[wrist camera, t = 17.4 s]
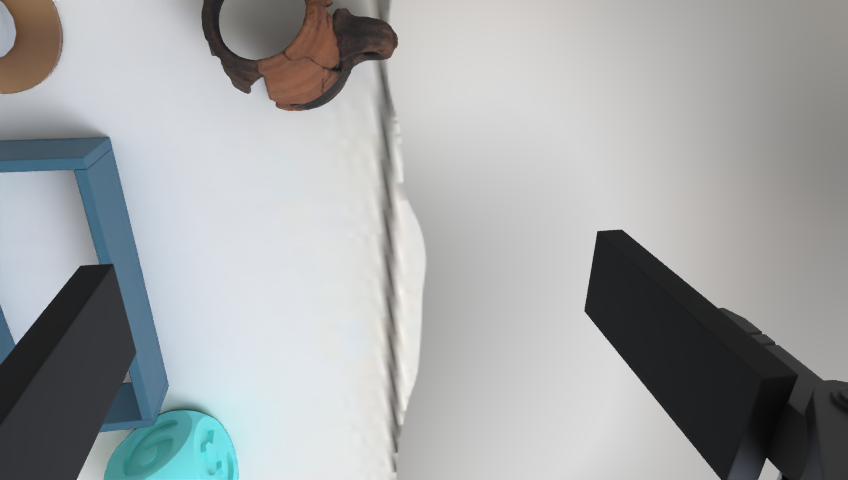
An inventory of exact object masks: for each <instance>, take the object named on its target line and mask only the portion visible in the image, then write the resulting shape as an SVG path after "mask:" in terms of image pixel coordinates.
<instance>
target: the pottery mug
mask: <svg viewBox="0 0 848 480" xmlns="http://www.w3.org/2000/svg"><path fill="white" fill-rule="evenodd" d="M223 1H224V0H204V3H203V8H202V28H203V31H204V35H205V38H206V40H207V41H208V43H209V47H210V50H211V54H212V55H213V56H217V57H219V58H220V60H221V64H222V66H223V69H224V71H225V73H226V74H227V75H228V76H229V78H230V79H231V81H232V84H233V85H234V87H236V88H237V89H239V90H241V91H242V92H244V93H247V94H249V93H250V92H251V88H250V86H251V85H253V83H254V82H255V81H256V80H258V79H260V78H261V77H264V79H265V85H266V87H267V92H268V96H269V98H270V100H273V101H275V102H276V107H278V108H280V109H283V110H288V111H302V110H309V109H313V108H317V107H320V106H322V105H324V104H326V103H328V102H329V101H330V100H332V99H333V98H334V97H335V96H336V95H337V94H338V93H339V92H340V91H341V90H342V88H343V87H344V85H345V82H346V81H347V78H348V76H349V75H350V73H351V70H352V68H353V67H354V66H356V65H357V64H359V63H361V62H363V61H366V60H384V59H388V58H390V57H391V56H392V54H393V51H394V49H395V48H396V47H397V45H398V38H397V35H396V33H395V32H394V31H393V29H392V28H391V26H390V25H389V24H388V23H386V22H384V21H382V20H379V19H374V18H370V17H358V16H354V15H352V14H351V13H350V12H349V11H348V10H347V9H346V8H342V9H340V8H339V9H337V10H335V12H334V14H333V19H331V16H330V14H329V13H328V12H327V10H326V7H328V6H330V5H331V4H332V0H305V3H306V13H305V18H304V22H303V25H302V28H301V30H300V32H299V33H298V35H297V37H296V38H295V39H294V41H293V42H292V43H291V44H290V45H289V46H288V47H287V48H286V49H285V50H284V51H283V52H280V53H279V54H277V55H275V56H272V57H270V58H265V59H260V60H257V61H256V60H249V59H245V58H242V57H239V56H238V55H236V54H235V53H233V52H232V51H231V50H230V49H229V48H228V47H227V46H226V45H225V43H224V42H223V40H222V37H221V34H220V29H219V13H220V10H221V6H222V4H223ZM338 62H339V68H338V69H337V68H333V67H335V66H336V65H337V64H338Z"/></svg>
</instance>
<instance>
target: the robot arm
mask: <svg viewBox="0 0 848 480" xmlns="http://www.w3.org/2000/svg"><path fill="white" fill-rule="evenodd" d="M585 312H586V314H587V315H588V316H589V317H590V319H591V320H592V321H593V322H594V324H595V325H596V326H597V327H598V328H599V330H600V331H601V332H602V333H603V335H604V336H605V337H606V338H607V340H608V341H609V342H610V343H611V344H612V345H613V347H614V348H615V349H616V351H617V352H618V353H619V354H620V356H621V357H622V358H623V359H624V360H625V362H626V363H627V364H628V365H629V367H630V368H631V369H632V370H633V372H634V373H635V374H636V375H637V376H638V378H639V379H640V380H641V382H642V383H643V384H644V385H645V386H646V388H647V389H648V390H649V391H650V393H652V395H653V396H654V398H655V399H656V400H657V401H658V402H659V404H660V405H661V406H662V407H663V408H664V410H665V411H666V412H667V414H668V415H669V416H670V417H671V418H672V420H673V421H674V422H675V423H676V425H677V426H678V427H679V428H680V430H681V431H682V432H683V433H684V434H685V436H686V437H687V438H688V439H689V441H690V442H691V443H692V444H693V446H694V447H695V448H696V449H697V451H698V452H699V453H700V454H701V456H702V457H703V458H704V459H705V460H706V462H707V463H708V464H709V465H710V466H711V468H712V469H713V470H714V472H715V473H716V474H717V475H718V476H719V477H720V479H721V480H758V478H759V476H760V473H761V471H762V468H763V466H764V463H765V460H766V458H768V459H769V460H770V461H771V463H772V464H773V465H774V466H775V467H776V468H777V469H778V470H779V471H780V473H779V476H778V478H777V480H848V382H842V381H837V380H829V381H828V380H827V381H824V380H822V379H821V378H820V377H818V376H817V375H816V374H815V373H813V372H812V371H811V370H809V369H808V368H807V367H806V366H805V365H803V364H802V363H801V362H799V361H798V360H797V359H796V358H794V357H793V356H792V355H791V354H789V353H788V352H787V351H786V350H784V349H783V348H782V347H781V346H779V345H775V342H774V341H773V340H772V339H770V338H769V337H768V336H767V335H765V334H762V331H760V330H759V329H758V328H756V327H755V326H754V325H753V324H751V323H750V322H749V321H748V320H746V319H745V318H743V317H741V316H739V315H737V314H735V313H733V312H731V311H729V310H727V309H725V308H717V307H716V306H714V305H713V304H712V303H711V302H709V301H708V300H707V299H706V298H705V297H703V296H702V295H701V294H700V293H699V292H697V291H696V290H695V289H694V288H692V287H691V286H690V285H689V284H688V283H686V282H685V281H684V280H683V279H681V278H680V277H679V276H678V275H677V274H675V273H674V272H673V271H672V270H670V269H669V268H668V267H667V266H666V265H664V264H663V263H662V262H661V261H659V260H658V259H657V258H656V257H654V256H653V255H652V254H651V253H649V252H648V251H647V250H646V249H645V248H643V247H642V246H641V245H640V244H639V243H637V242H636V241H635V240H634V239H633V238H631V237H630V236H629V235H628V234H627V233H625V232H624V231H623V230H608V231H598V232H597V237H596V244H595V250H594V256H593V262H592V268H591V274H590V280H589V286H588V292H587V299H586V304H585ZM136 353H137V352H136V348H135V344H134V340H133V336H132V333H131V329H130V325H129V321H128V317H127V313H126V310H125V306H124V302H123V298H122V294H121V291H120V287H119V283H118V279H117V275H116V271H115V268H114V264H99V265H84V266H80V267H79V268H78V269H77V271H76V272H75V273H74V274H73V276H72V277H71V278H70V279H69V280H68V282H67V283H66V284H65V285H64V287H63V288H62V289H61V290H60V292H59V293H58V294H57V295H56V297H55V298H54V299H53V300H52V301H51V303H50V304H49V305H48V306H47V308H46V309H45V310H44V311H43V313H42V314H41V315H40V316H39V318H38V319H37V320H36V321H35V322H34V324H33V325H32V326H31V327H30V329H29V330H28V331H27V332H26V334H25V335H24V336H23V337H22V338H21V340H20V341H19V342H18V343H17V345H16V346H15V347H14V348H13V350H12V351H11V352H10V353H9V355H8V356H7V357H6V358H5V359H4V361H3V362H2V363H1V364H0V480H77V478H78V476H79V473H80V471H81V469H82V467H83V465H84V463H85V461H86V459H87V456H88V454H89V452H90V450H91V448H92V446H93V444H94V442H95V440H96V437H97V435H98V433H99V431H100V429H101V427H102V425H103V423H104V421H105V418H106V416H107V414H108V412H109V410H110V408H111V406H112V404H113V401H114V399H115V397H116V395H117V393H118V391H119V389H120V387H121V385H122V382H123V380H124V378H125V376H126V374H127V372H128V370H129V368H130V366H131V363H132V361H133V359H134V357H135V355H136Z"/></svg>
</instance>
